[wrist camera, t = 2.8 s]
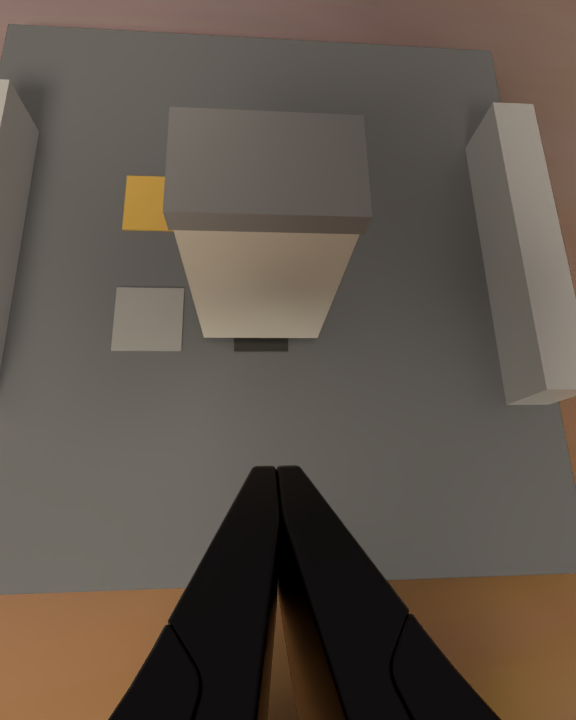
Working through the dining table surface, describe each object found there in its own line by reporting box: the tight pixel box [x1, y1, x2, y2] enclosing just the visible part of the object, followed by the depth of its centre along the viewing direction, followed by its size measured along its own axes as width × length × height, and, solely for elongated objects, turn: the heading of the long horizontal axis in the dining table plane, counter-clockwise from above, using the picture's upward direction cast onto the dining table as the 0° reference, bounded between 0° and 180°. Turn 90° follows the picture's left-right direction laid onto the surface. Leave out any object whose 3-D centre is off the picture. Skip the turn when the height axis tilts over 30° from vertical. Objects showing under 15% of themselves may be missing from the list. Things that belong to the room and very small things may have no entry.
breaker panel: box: [0, 24, 576, 595], centre depth 21 cm, size 28×27×4 cm
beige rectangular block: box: [163, 107, 372, 338], centre depth 17 cm, size 3×5×9 cm, turn 91°
